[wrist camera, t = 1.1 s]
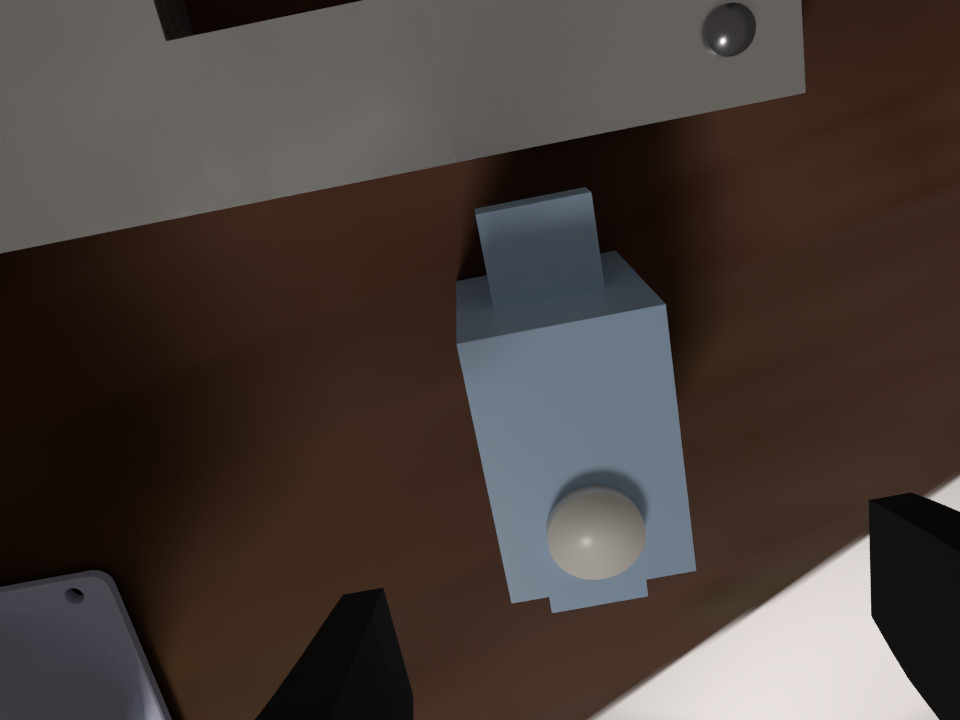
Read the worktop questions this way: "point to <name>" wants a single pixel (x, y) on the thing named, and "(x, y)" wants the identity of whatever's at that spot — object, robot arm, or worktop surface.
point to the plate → (341, 94)
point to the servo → (572, 407)
